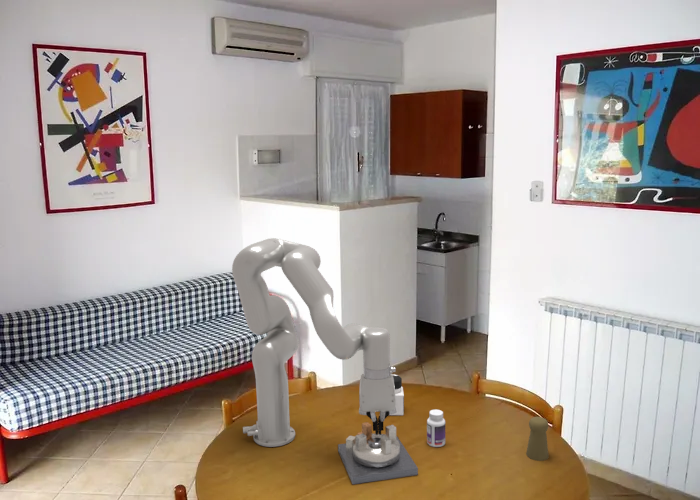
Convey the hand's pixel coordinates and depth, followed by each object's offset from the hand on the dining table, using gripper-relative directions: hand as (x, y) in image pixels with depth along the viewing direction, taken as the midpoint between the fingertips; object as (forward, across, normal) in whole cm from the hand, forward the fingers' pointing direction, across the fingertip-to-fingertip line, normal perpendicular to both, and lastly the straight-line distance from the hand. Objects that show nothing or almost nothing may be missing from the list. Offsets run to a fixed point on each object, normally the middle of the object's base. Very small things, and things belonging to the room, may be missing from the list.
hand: (378, 432), depth 172 cm
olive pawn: (+7, -45, +3) cm, 45 cm away
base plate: (+6, +1, +5) cm, 8 cm away
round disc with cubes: (+4, +1, +4) cm, 6 cm away
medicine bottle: (+6, -6, -27) cm, 29 cm away
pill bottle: (+7, -17, -5) cm, 19 cm away
